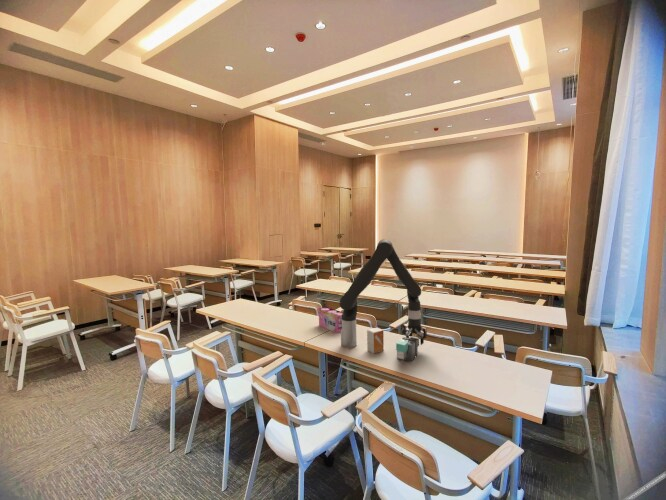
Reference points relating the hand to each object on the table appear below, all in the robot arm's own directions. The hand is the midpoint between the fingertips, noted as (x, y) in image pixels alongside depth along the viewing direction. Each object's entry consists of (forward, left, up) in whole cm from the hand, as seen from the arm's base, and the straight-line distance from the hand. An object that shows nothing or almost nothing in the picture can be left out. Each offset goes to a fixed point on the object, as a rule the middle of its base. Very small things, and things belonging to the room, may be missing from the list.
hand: (414, 342), depth 188 cm
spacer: (0, -20, +3) cm, 20 cm away
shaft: (0, -11, -2) cm, 11 cm away
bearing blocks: (0, -12, -5) cm, 13 cm away
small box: (-20, -13, -5) cm, 24 cm away
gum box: (-67, +8, -5) cm, 68 cm away
